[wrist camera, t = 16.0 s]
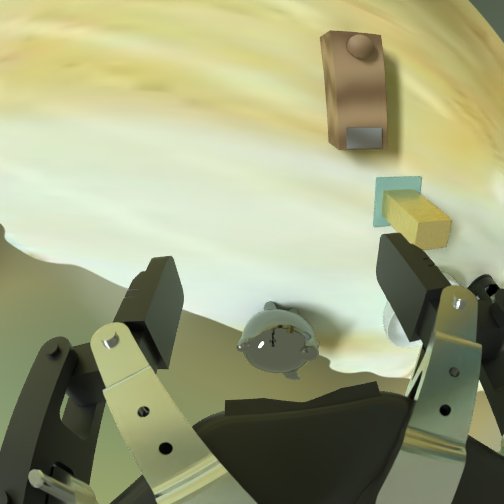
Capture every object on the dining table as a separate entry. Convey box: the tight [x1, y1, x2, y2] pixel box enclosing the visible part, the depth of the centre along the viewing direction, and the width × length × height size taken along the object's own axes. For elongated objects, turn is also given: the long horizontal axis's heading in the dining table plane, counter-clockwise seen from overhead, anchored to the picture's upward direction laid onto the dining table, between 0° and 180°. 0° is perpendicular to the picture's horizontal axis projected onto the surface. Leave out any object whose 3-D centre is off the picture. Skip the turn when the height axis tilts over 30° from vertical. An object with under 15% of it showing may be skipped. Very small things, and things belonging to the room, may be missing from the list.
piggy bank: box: [237, 302, 319, 380], centre depth 48 cm, size 11×15×12 cm
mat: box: [373, 176, 421, 227], centre depth 41 cm, size 8×8×1 cm
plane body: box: [320, 31, 387, 150], centre depth 30 cm, size 15×6×6 cm, turn 6°
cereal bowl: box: [383, 271, 460, 347], centre depth 49 cm, size 17×17×7 cm
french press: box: [468, 274, 504, 351], centre depth 42 cm, size 12×9×23 cm
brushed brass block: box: [382, 189, 452, 250], centre depth 36 cm, size 4×6×11 cm
